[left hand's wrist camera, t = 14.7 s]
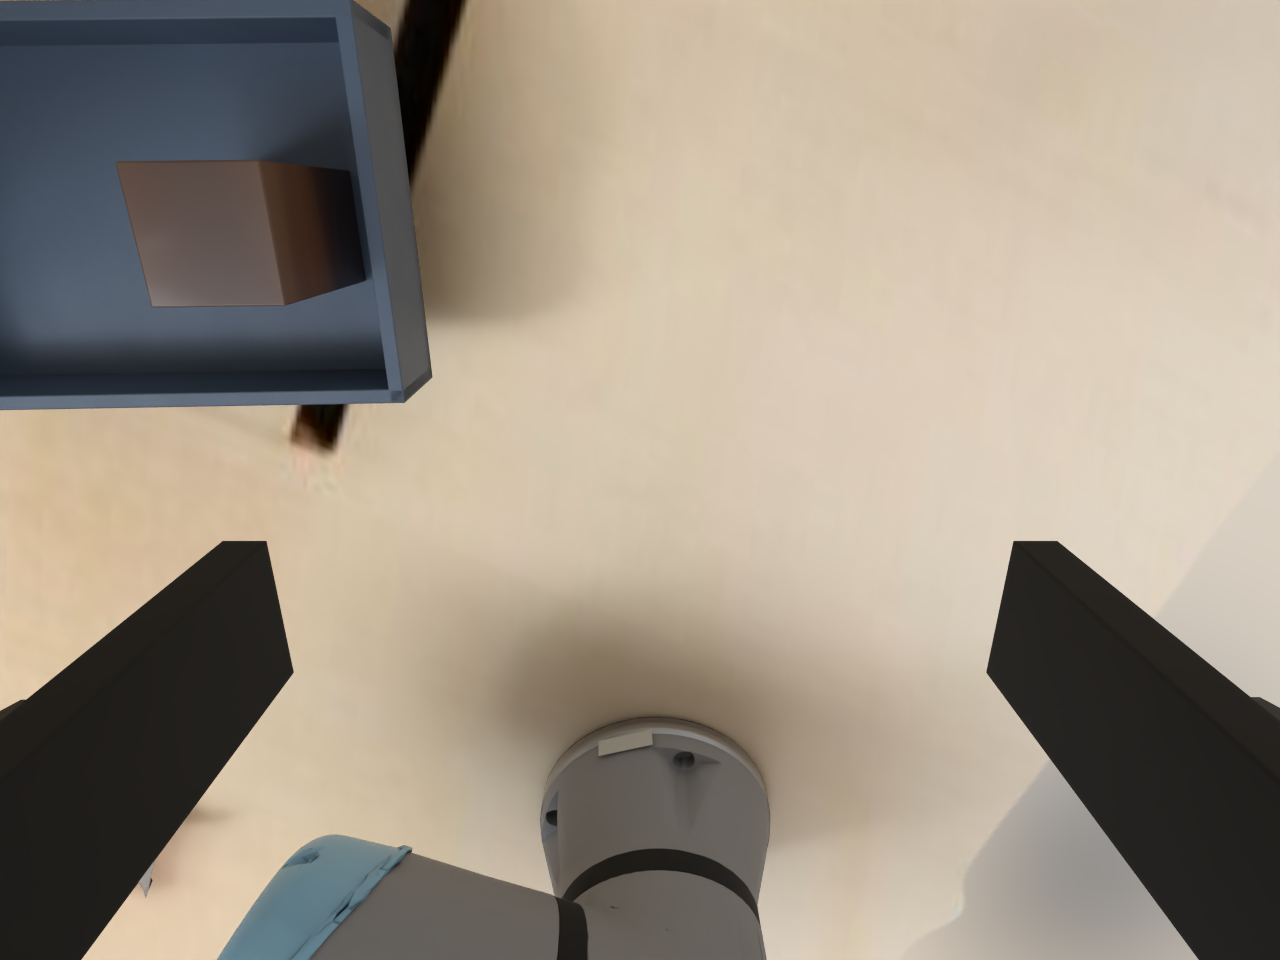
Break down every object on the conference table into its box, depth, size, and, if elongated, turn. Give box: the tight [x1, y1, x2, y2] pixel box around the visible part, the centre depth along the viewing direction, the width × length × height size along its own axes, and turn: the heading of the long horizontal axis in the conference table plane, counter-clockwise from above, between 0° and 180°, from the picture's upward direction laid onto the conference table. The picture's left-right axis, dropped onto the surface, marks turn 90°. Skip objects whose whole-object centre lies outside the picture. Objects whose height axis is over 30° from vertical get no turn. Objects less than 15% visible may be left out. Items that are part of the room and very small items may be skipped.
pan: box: [0, 0, 432, 410], centre depth 28 cm, size 29×14×7 cm, turn 91°
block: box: [116, 160, 365, 308], centre depth 27 cm, size 4×4×8 cm
